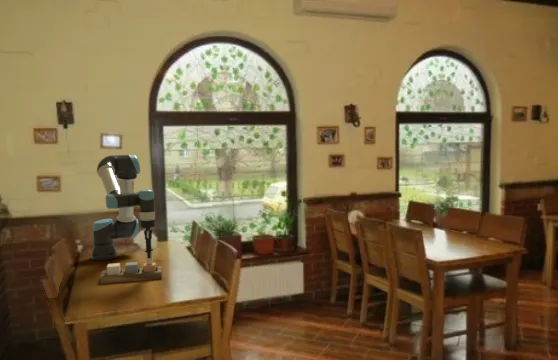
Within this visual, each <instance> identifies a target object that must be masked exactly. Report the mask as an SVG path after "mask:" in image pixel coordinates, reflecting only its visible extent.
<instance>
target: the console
mask: <svg viewBox="0 0 558 360" xmlns="http://www.w3.org/2000/svg"><path fill="white" fill-rule="evenodd" d="M120 269H121V272H120V274H116V275H107V269H105V270H102V272H101V274H100V276H99V279H100V281H99V282H100V284H101V285H102V284H111V283H112V284H113V283H123V282H139V281H148V280H159V279H161V280H162V278H163V277H162V276H163V269H162V265H156V271H154V272H144V268H143V267H138V273H129V274H126V272H125V268H120Z"/></svg>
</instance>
